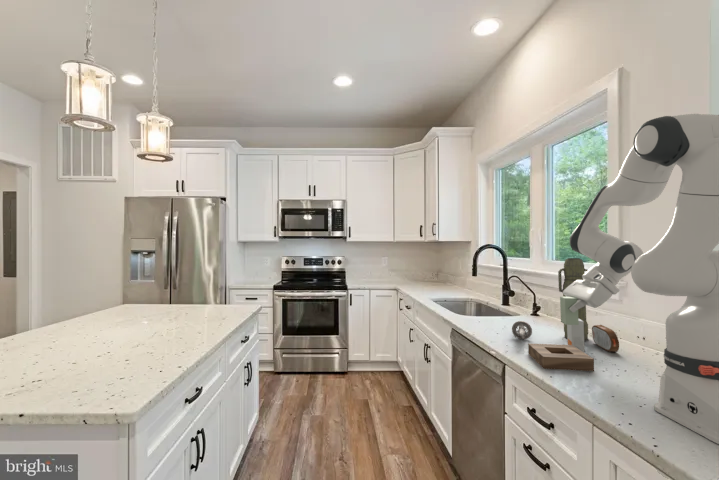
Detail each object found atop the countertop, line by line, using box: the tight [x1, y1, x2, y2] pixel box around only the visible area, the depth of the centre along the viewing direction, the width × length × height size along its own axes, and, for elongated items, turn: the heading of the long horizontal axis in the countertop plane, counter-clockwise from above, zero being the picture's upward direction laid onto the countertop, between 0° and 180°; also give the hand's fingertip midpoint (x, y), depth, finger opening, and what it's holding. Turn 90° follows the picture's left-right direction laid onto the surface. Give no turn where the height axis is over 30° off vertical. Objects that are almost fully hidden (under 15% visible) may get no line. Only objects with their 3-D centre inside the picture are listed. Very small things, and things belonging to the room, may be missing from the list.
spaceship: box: [511, 320, 533, 341], centre depth 141 cm, size 8×35×8 cm
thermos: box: [557, 257, 589, 342], centre depth 142 cm, size 9×12×35 cm
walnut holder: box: [527, 343, 595, 372], centre depth 113 cm, size 15×15×4 cm
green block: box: [559, 296, 579, 325], centre depth 113 cm, size 4×4×9 cm
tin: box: [591, 324, 620, 353], centre depth 127 cm, size 15×3×8 cm, turn 168°
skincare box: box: [566, 318, 586, 354], centre depth 126 cm, size 6×4×12 cm
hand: (567, 309), depth 113 cm, fingers closed on green block, 4 cm apart
